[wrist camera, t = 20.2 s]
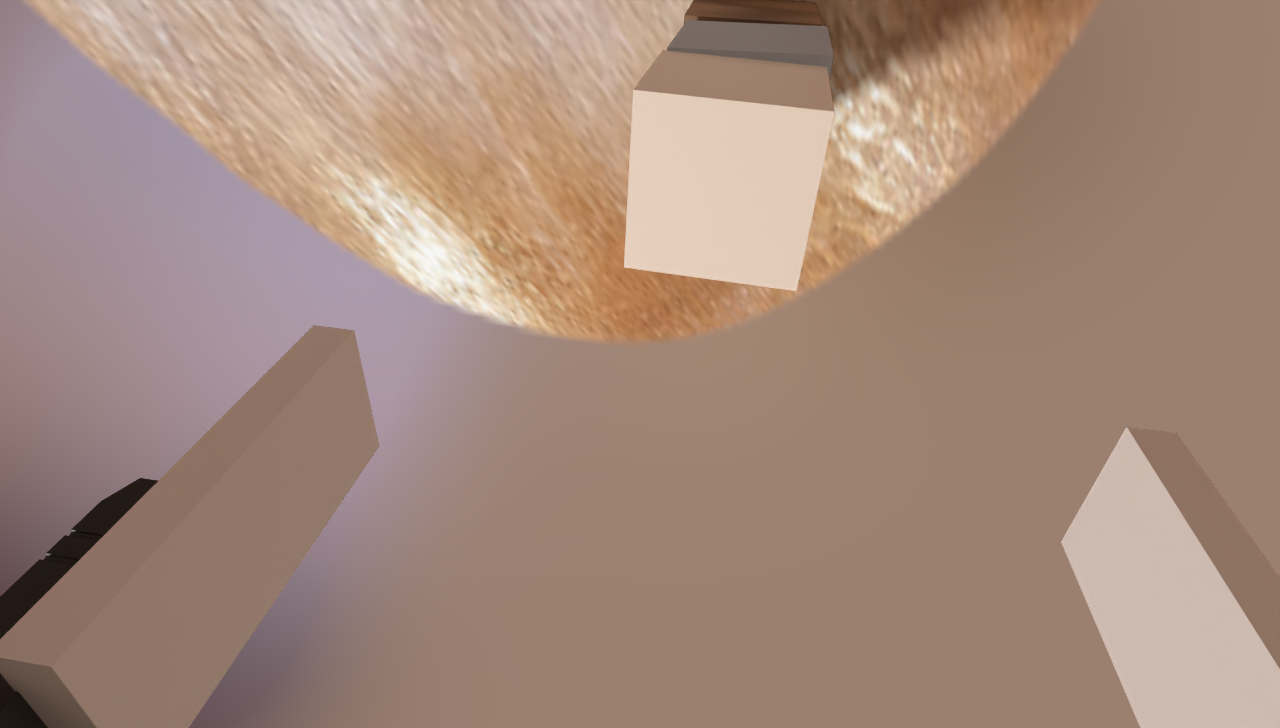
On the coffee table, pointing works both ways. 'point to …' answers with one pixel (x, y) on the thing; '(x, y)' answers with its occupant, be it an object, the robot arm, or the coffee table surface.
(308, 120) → the coffee table surface
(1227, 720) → the robot arm
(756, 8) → the walnut base brick
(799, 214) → the cream brick
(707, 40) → the slate brick
